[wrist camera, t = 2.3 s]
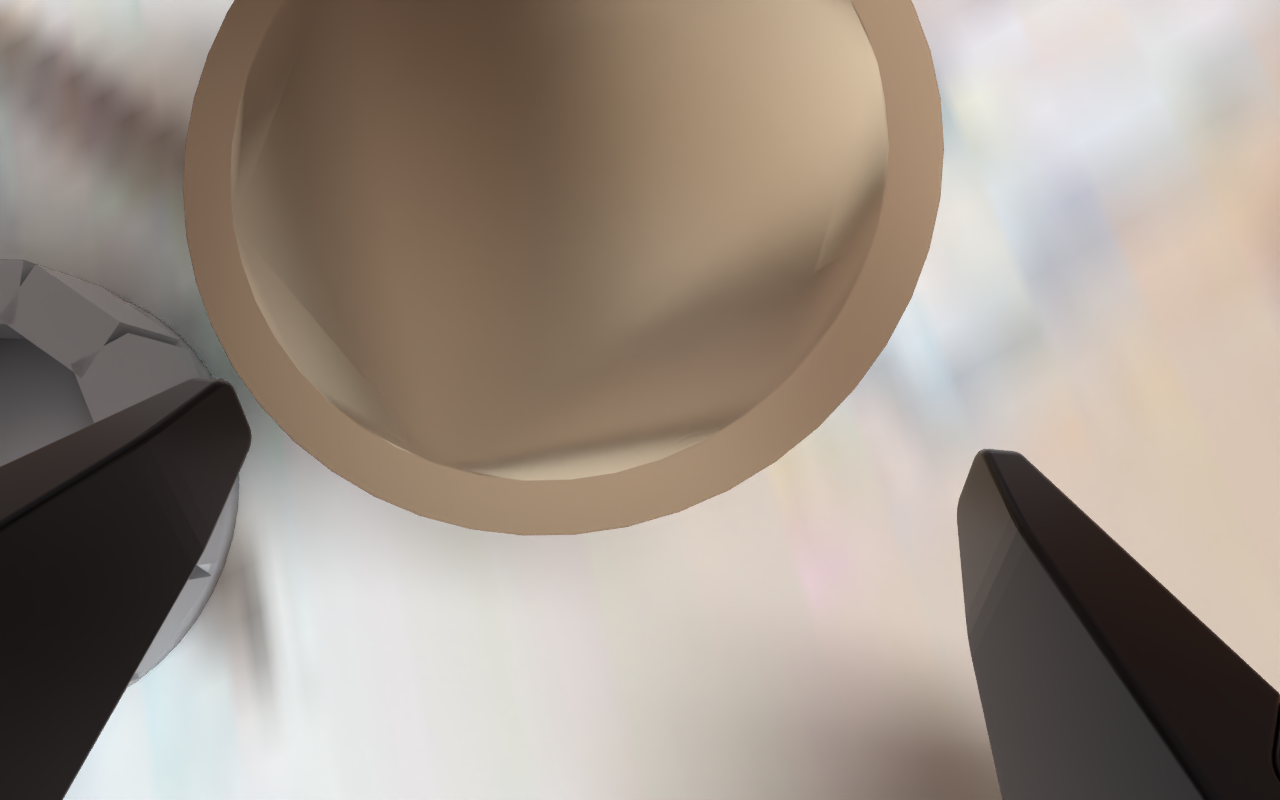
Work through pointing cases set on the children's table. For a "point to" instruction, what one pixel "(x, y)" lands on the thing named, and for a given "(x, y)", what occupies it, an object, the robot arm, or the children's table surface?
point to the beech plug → (559, 238)
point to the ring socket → (93, 391)
